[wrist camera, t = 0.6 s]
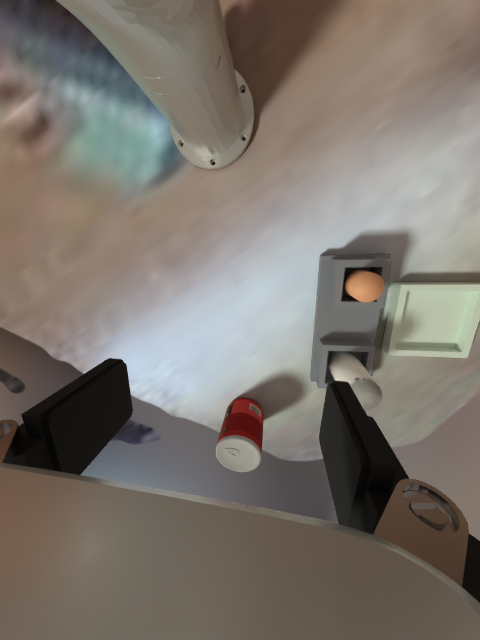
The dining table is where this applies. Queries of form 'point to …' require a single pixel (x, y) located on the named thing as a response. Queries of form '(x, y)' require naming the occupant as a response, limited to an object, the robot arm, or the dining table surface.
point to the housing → (345, 313)
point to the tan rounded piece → (364, 285)
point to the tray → (432, 319)
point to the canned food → (241, 436)
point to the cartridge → (355, 377)
